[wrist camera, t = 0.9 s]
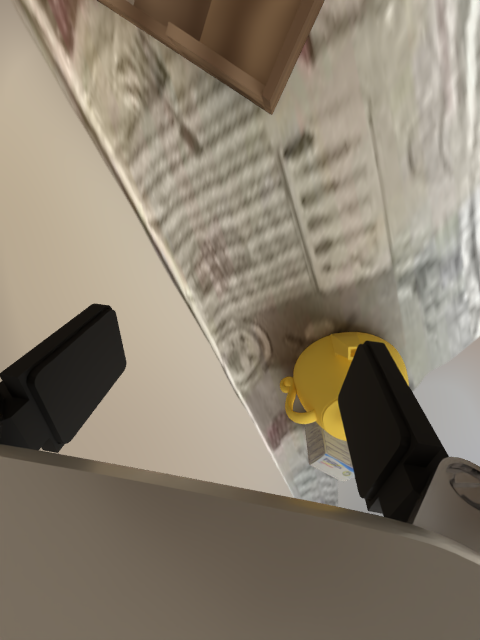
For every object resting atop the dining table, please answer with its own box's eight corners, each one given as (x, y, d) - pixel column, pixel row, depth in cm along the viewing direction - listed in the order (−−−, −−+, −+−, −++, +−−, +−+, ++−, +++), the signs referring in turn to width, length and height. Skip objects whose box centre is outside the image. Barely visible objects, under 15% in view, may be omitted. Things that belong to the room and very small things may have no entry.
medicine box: (303, 421, 51) (307, 465, 44) (318, 410, 49) (325, 453, 42) (334, 439, 53) (343, 483, 45) (350, 428, 50) (362, 473, 43)
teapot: (395, 397, 45) (432, 471, 34) (287, 405, 49) (289, 472, 39) (400, 295, 36) (453, 352, 25) (266, 316, 40) (261, 372, 29)
